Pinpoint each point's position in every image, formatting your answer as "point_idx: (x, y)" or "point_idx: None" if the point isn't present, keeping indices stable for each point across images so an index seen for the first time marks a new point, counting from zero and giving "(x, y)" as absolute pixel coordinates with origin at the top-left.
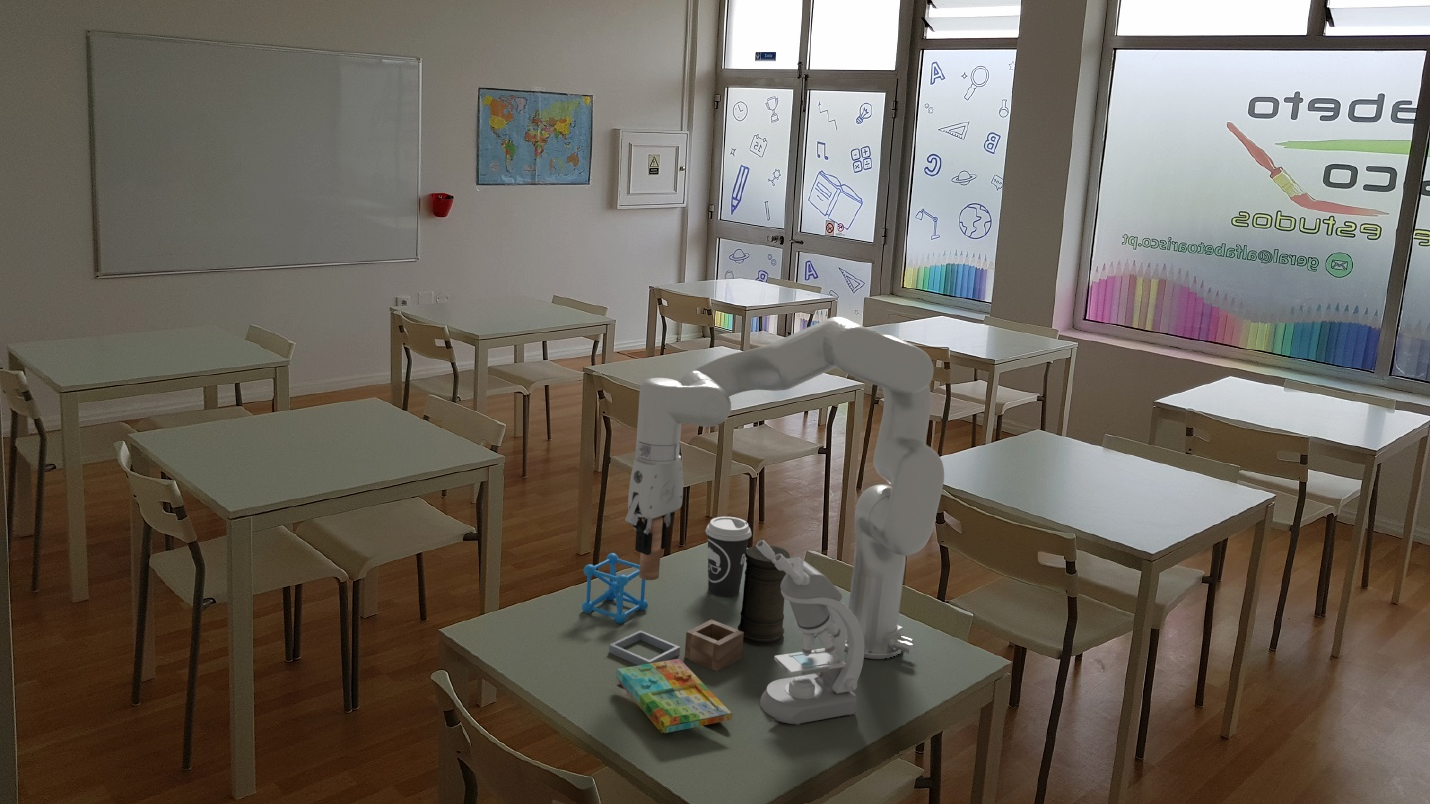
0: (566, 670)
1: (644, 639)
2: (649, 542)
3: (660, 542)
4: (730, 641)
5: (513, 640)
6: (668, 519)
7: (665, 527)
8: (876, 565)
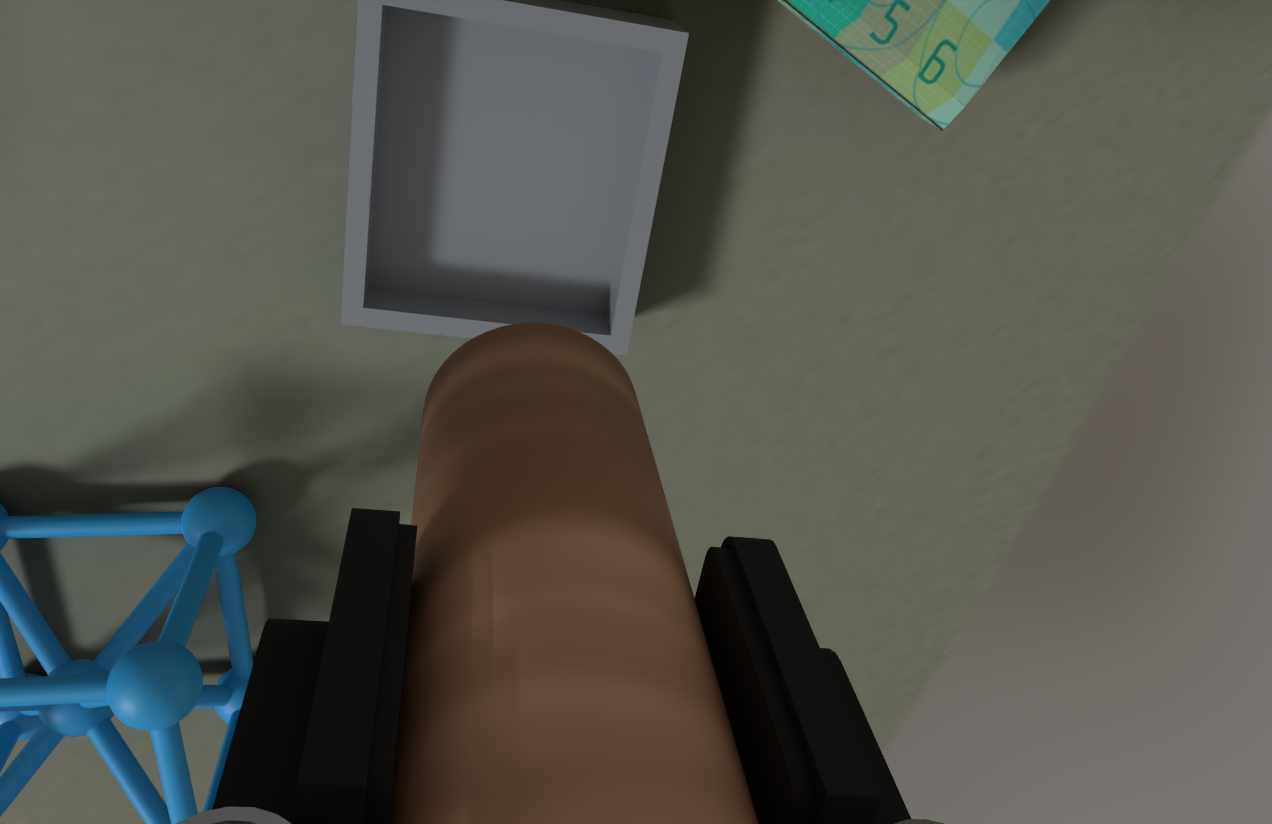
0: (852, 399)
1: (368, 261)
2: (826, 674)
3: (536, 598)
4: None
5: None
6: None
7: (328, 816)
8: None
